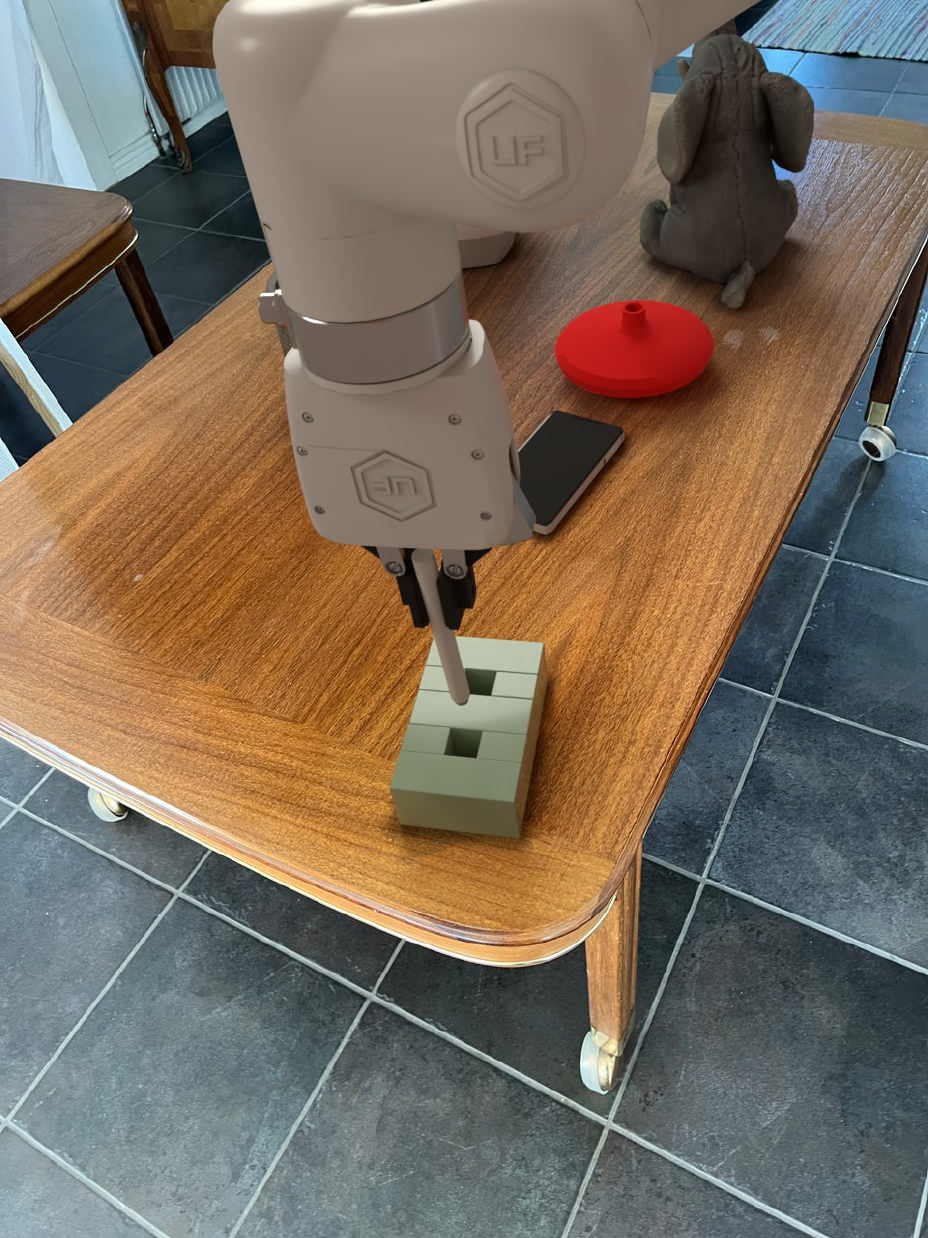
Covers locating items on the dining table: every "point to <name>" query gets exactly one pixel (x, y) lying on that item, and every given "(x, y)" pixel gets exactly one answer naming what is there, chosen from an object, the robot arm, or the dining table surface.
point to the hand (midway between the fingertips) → (442, 609)
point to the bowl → (482, 245)
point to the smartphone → (563, 463)
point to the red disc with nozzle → (634, 349)
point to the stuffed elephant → (728, 164)
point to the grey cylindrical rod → (440, 625)
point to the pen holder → (473, 740)
